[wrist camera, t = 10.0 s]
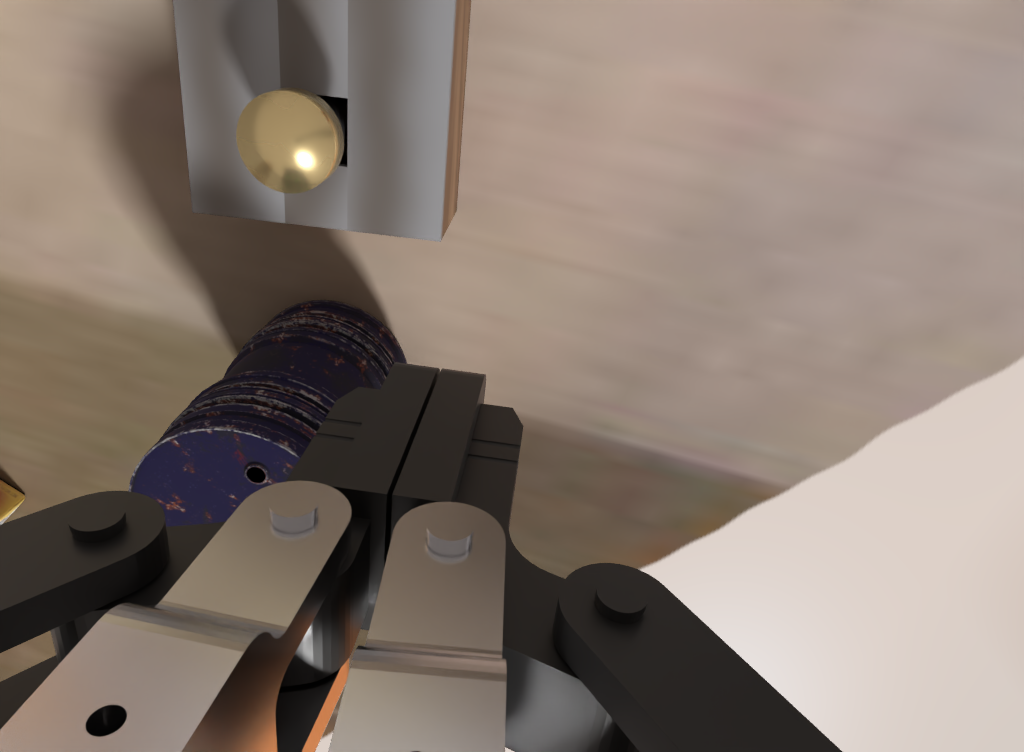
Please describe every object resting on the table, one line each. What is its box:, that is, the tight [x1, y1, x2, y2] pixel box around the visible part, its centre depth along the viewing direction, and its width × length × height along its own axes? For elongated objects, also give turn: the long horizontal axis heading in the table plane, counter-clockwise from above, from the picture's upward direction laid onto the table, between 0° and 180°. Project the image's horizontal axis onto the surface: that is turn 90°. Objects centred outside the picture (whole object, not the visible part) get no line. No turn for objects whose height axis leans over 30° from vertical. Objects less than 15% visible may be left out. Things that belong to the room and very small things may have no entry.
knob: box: [236, 88, 348, 194], centre depth 34 cm, size 4×4×9 cm
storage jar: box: [129, 300, 407, 527], centre depth 39 cm, size 10×10×15 cm
